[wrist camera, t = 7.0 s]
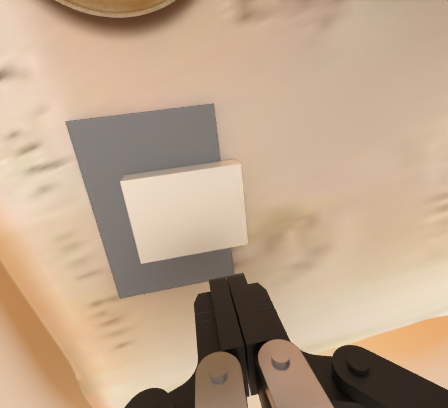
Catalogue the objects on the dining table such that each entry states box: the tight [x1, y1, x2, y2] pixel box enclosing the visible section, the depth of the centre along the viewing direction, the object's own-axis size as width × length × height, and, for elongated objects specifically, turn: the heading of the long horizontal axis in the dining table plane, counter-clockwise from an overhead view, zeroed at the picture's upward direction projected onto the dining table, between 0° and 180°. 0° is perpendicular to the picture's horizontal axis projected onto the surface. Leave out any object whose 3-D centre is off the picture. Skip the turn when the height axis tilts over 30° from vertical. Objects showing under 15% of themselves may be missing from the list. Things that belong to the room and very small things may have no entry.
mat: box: [66, 104, 234, 298], centre depth 23 cm, size 16×11×1 cm
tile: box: [120, 159, 248, 264], centre depth 22 cm, size 7×2×9 cm
